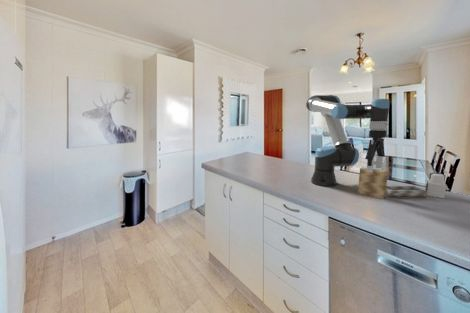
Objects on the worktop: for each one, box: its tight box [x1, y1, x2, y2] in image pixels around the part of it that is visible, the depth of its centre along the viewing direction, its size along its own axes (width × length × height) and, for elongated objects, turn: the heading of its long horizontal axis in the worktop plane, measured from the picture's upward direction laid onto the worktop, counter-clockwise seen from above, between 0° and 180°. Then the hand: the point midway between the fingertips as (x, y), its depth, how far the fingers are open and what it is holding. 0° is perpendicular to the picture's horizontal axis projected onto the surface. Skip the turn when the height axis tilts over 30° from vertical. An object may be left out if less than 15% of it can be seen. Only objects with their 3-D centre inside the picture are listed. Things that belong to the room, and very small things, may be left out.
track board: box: [385, 185, 427, 199], centre depth 116 cm, size 18×9×4 cm, turn 85°
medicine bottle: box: [425, 172, 447, 199], centre depth 113 cm, size 7×7×12 cm
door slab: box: [357, 167, 389, 199], centre depth 115 cm, size 12×4×14 cm, turn 40°
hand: (374, 170), depth 114 cm, fingers open, 13 cm apart
